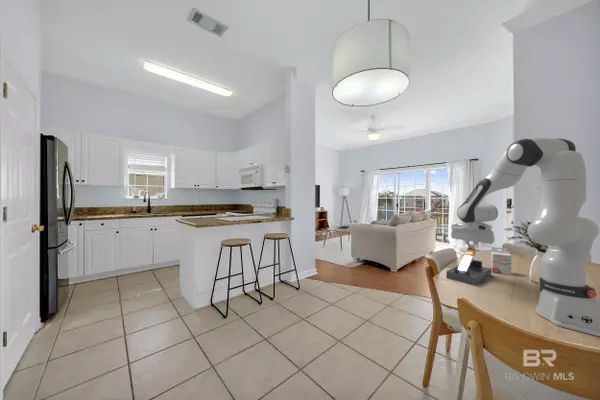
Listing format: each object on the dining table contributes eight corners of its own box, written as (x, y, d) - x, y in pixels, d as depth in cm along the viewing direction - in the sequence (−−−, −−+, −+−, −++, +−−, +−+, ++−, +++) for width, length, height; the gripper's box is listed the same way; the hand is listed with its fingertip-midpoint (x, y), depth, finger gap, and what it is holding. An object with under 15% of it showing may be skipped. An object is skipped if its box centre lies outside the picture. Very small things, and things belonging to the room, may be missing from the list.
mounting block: (491, 275, 129) (491, 262, 129) (476, 285, 115) (476, 271, 115) (463, 269, 141) (463, 257, 140) (446, 278, 127) (446, 265, 127)
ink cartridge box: (492, 272, 133) (492, 248, 133) (491, 270, 138) (490, 246, 137) (511, 275, 129) (511, 250, 128) (509, 272, 133) (509, 248, 133)
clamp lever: (476, 251, 129) (476, 248, 129) (465, 275, 120) (465, 272, 119) (468, 250, 133) (467, 247, 132) (457, 273, 123) (456, 270, 123)
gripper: (449, 223, 136) (449, 245, 137) (491, 227, 120) (491, 253, 120) (453, 222, 140) (453, 244, 141) (495, 226, 123) (495, 251, 124)
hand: (471, 248), depth 130 cm, fingers closed, pressing on clamp lever
